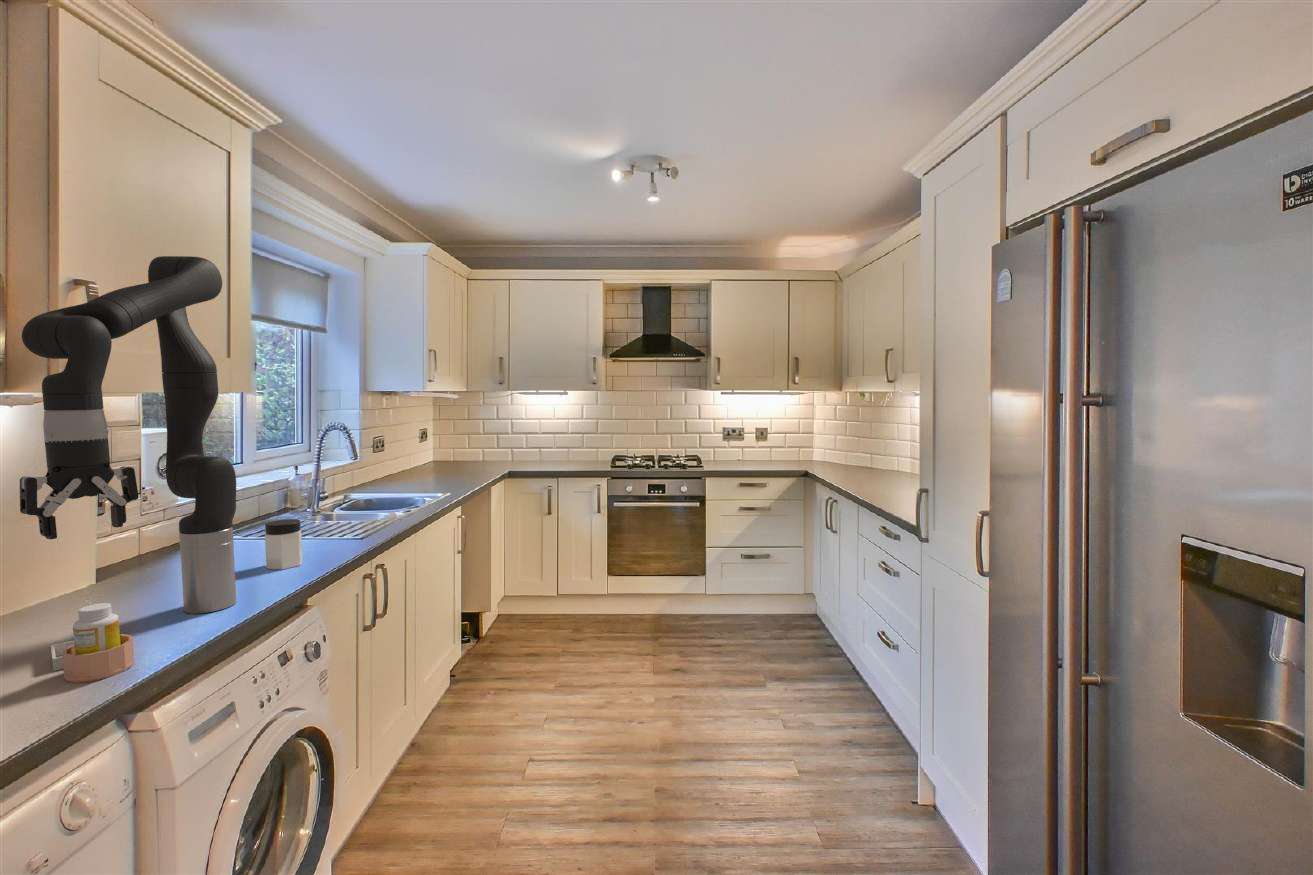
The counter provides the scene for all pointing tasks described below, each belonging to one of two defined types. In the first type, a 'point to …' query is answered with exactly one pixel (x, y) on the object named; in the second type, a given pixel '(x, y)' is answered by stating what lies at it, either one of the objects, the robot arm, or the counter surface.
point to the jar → (283, 544)
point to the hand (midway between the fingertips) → (85, 532)
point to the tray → (57, 651)
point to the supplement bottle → (96, 629)
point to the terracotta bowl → (98, 662)
